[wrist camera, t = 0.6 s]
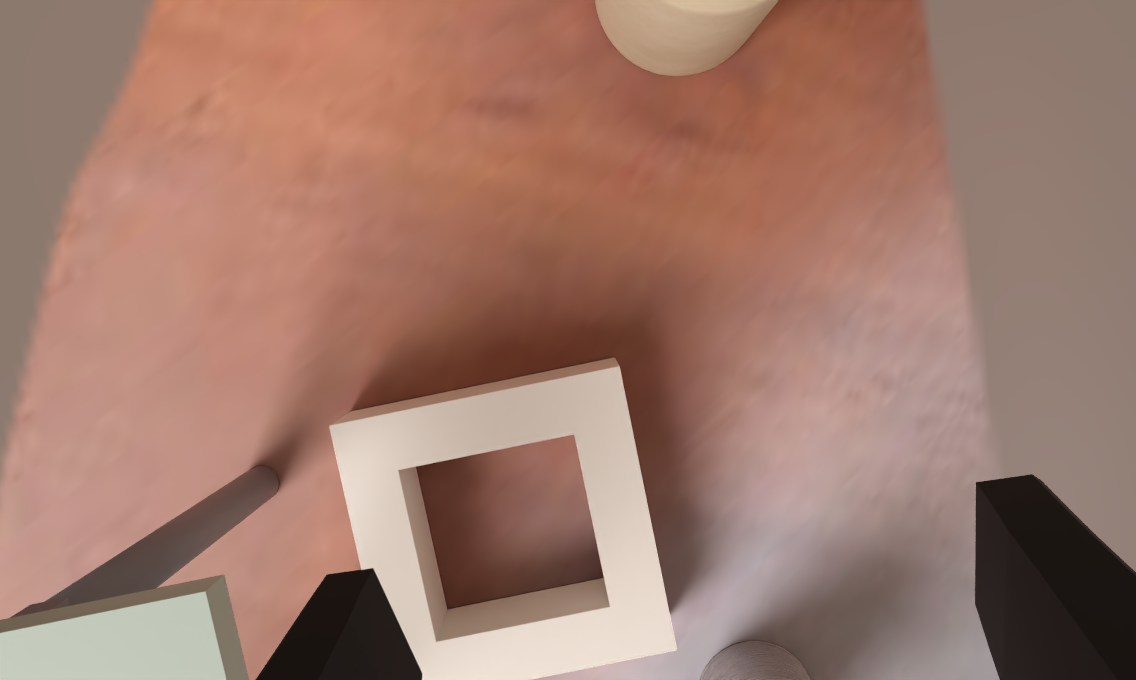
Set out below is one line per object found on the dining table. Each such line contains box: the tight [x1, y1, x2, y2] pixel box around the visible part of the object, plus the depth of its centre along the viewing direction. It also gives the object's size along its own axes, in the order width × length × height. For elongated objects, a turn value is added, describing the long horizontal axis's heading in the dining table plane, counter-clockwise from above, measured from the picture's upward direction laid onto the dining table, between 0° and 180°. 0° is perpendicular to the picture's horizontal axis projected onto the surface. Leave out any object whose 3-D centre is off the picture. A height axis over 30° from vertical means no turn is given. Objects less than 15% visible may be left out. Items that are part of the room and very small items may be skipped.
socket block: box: [329, 357, 677, 680], centre depth 33 cm, size 9×9×3 cm
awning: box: [0, 466, 279, 680], centre depth 27 cm, size 9×5×16 cm, turn 12°
